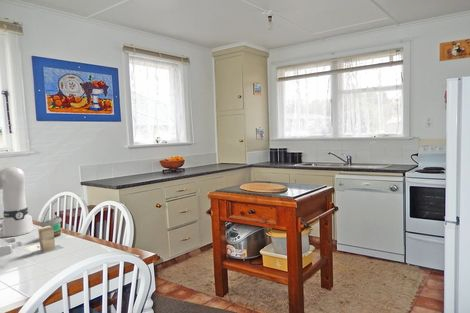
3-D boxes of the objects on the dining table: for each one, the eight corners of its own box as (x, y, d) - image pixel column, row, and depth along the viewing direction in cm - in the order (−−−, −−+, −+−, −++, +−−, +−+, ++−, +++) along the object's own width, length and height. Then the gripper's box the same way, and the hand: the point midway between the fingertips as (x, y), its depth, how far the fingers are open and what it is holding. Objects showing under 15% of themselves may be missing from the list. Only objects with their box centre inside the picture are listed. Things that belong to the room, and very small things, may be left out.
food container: (52, 240, 181) (50, 222, 180) (42, 240, 182) (40, 222, 181) (68, 233, 193) (66, 215, 192) (58, 233, 194) (56, 215, 193)
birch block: (40, 250, 165) (38, 228, 164) (51, 247, 169) (49, 225, 168) (44, 252, 162) (41, 229, 161) (55, 249, 165) (53, 227, 164)
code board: (24, 248, 171) (24, 247, 171) (49, 241, 180) (49, 240, 180) (37, 255, 158) (37, 255, 158) (64, 248, 167) (64, 247, 167)
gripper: (-24, 253, 153) (12, 244, 163) (-12, 263, 139) (26, 252, 149) (-26, 239, 152) (10, 231, 162) (-14, 248, 138) (24, 238, 149)
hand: (18, 241), depth 156 cm, fingers open, 8 cm apart
